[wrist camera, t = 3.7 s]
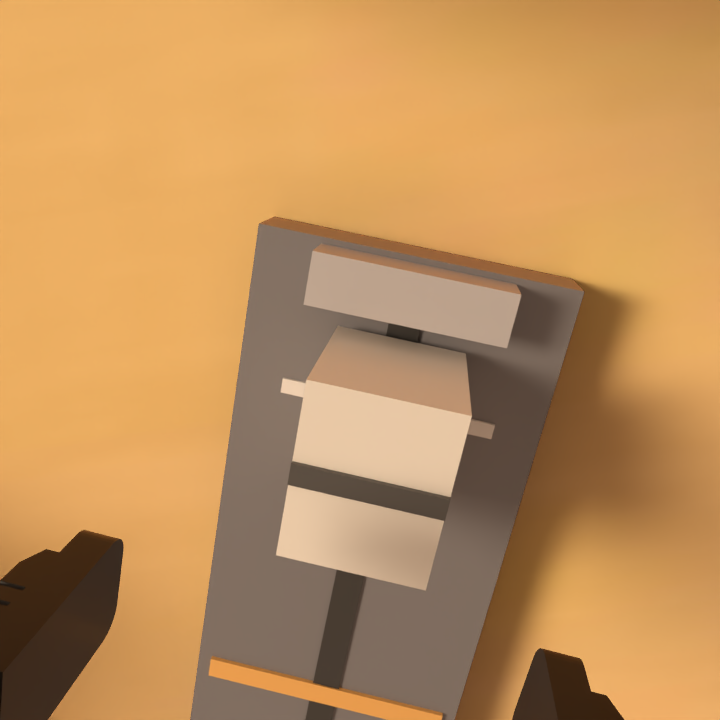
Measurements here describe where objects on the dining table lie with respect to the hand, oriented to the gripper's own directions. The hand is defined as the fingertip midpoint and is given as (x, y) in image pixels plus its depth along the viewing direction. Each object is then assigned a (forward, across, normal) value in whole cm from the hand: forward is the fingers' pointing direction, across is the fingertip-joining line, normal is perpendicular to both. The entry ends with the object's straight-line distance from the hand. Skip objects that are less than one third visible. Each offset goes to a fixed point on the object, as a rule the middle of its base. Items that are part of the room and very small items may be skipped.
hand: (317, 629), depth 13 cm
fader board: (+12, 0, +7) cm, 14 cm away
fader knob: (+10, 0, -1) cm, 10 cm away
